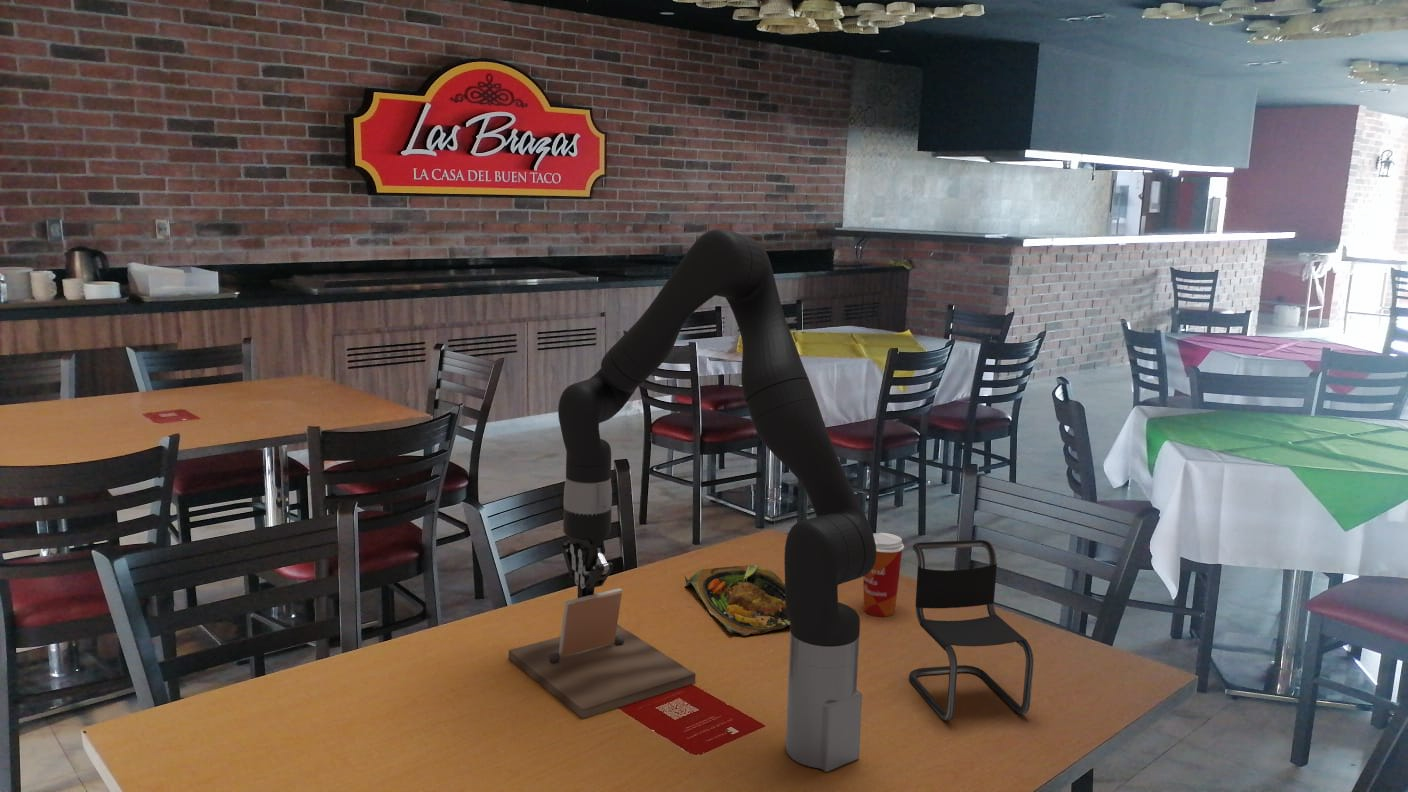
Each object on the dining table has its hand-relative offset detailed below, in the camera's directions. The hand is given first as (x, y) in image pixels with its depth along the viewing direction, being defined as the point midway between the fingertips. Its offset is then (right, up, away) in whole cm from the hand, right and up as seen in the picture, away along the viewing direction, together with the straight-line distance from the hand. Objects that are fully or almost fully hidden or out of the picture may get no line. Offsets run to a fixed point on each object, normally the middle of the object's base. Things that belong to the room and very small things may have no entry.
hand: (585, 607), depth 163 cm
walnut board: (+3, -10, -2) cm, 10 cm away
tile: (+1, -2, -1) cm, 2 cm away
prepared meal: (+28, -5, +27) cm, 39 cm away
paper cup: (+51, -6, +24) cm, 57 cm away
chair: (+59, -12, -8) cm, 61 cm away
